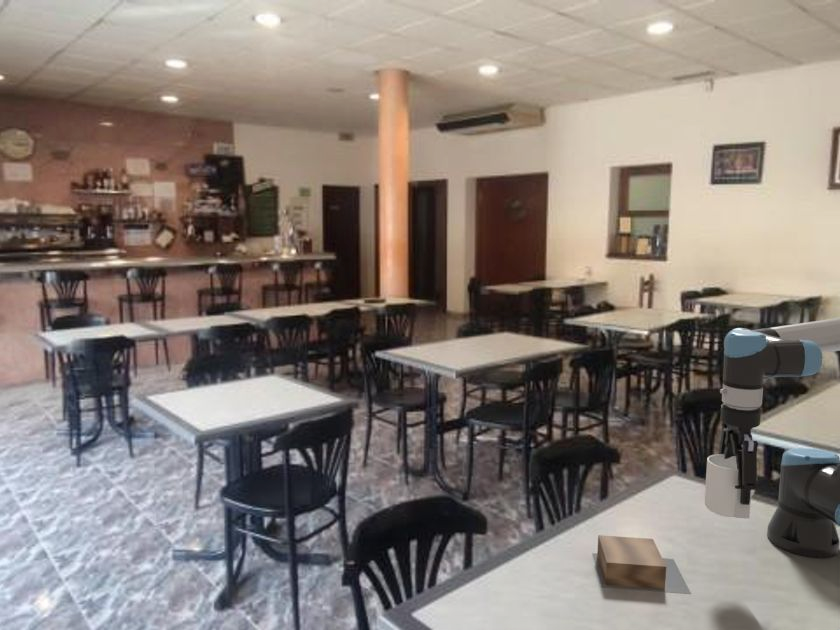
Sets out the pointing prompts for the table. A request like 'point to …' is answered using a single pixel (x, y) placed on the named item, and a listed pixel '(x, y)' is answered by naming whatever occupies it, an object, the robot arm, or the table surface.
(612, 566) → the walnut block
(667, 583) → the slate tile
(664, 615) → the table surface
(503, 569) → the table surface
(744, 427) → the robot arm
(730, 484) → the mug
